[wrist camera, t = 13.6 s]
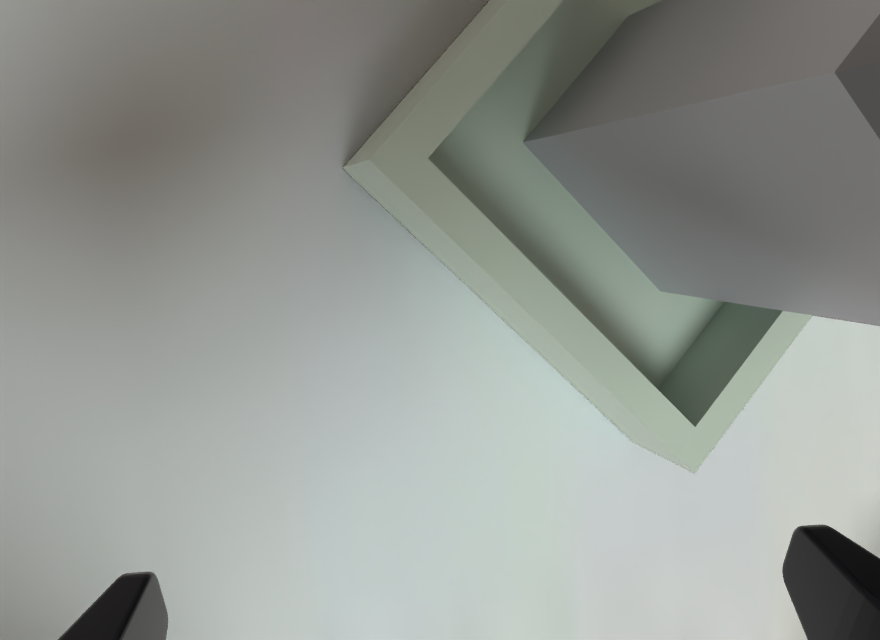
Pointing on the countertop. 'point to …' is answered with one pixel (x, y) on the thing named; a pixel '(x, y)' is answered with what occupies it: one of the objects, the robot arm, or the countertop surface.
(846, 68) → the grey rectangular block
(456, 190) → the tray
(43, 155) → the countertop surface
